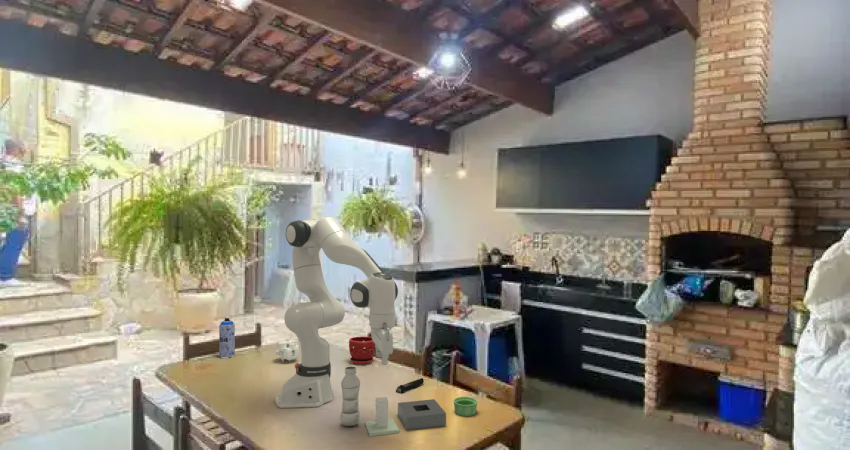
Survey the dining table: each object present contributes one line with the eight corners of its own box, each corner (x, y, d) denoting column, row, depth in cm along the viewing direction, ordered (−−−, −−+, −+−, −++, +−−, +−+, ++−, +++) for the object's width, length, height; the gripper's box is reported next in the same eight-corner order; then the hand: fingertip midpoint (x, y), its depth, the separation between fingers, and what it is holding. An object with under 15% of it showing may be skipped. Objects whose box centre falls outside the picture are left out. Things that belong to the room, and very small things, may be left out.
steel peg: (376, 428, 171) (376, 402, 171) (375, 423, 175) (375, 397, 174) (387, 427, 171) (388, 401, 171) (387, 422, 175) (387, 397, 175)
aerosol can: (215, 358, 258) (215, 319, 257) (224, 354, 265) (224, 316, 265) (229, 358, 256) (229, 319, 256) (238, 354, 264) (238, 316, 264)
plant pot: (373, 366, 245) (373, 341, 245) (346, 366, 245) (346, 341, 245) (376, 358, 258) (376, 335, 258) (351, 358, 258) (351, 335, 258)
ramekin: (470, 419, 182) (470, 407, 182) (449, 413, 186) (449, 402, 186) (481, 411, 189) (481, 399, 189) (460, 406, 194) (460, 394, 194)
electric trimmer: (426, 385, 218) (426, 378, 218) (401, 394, 207) (401, 387, 207) (419, 384, 221) (419, 376, 221) (395, 392, 209) (395, 385, 209)
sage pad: (369, 436, 167) (369, 433, 167) (364, 424, 176) (364, 421, 176) (399, 432, 170) (399, 429, 169) (392, 421, 179) (392, 418, 179)
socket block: (407, 430, 171) (407, 417, 171) (397, 415, 185) (397, 402, 185) (446, 426, 175) (446, 413, 175) (434, 411, 189) (434, 399, 189)
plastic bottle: (341, 421, 179) (341, 365, 178) (360, 420, 179) (360, 365, 179) (339, 429, 172) (339, 371, 172) (359, 428, 173) (359, 370, 173)
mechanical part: (291, 356, 261) (291, 333, 261) (303, 361, 252) (303, 338, 252) (271, 360, 254) (271, 337, 253) (282, 365, 245) (282, 341, 244)
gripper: (398, 326, 163) (397, 369, 163) (385, 314, 183) (384, 351, 183) (378, 327, 161) (378, 370, 162) (368, 314, 181) (367, 353, 181)
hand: (381, 360), depth 173 cm, fingers open, 8 cm apart
